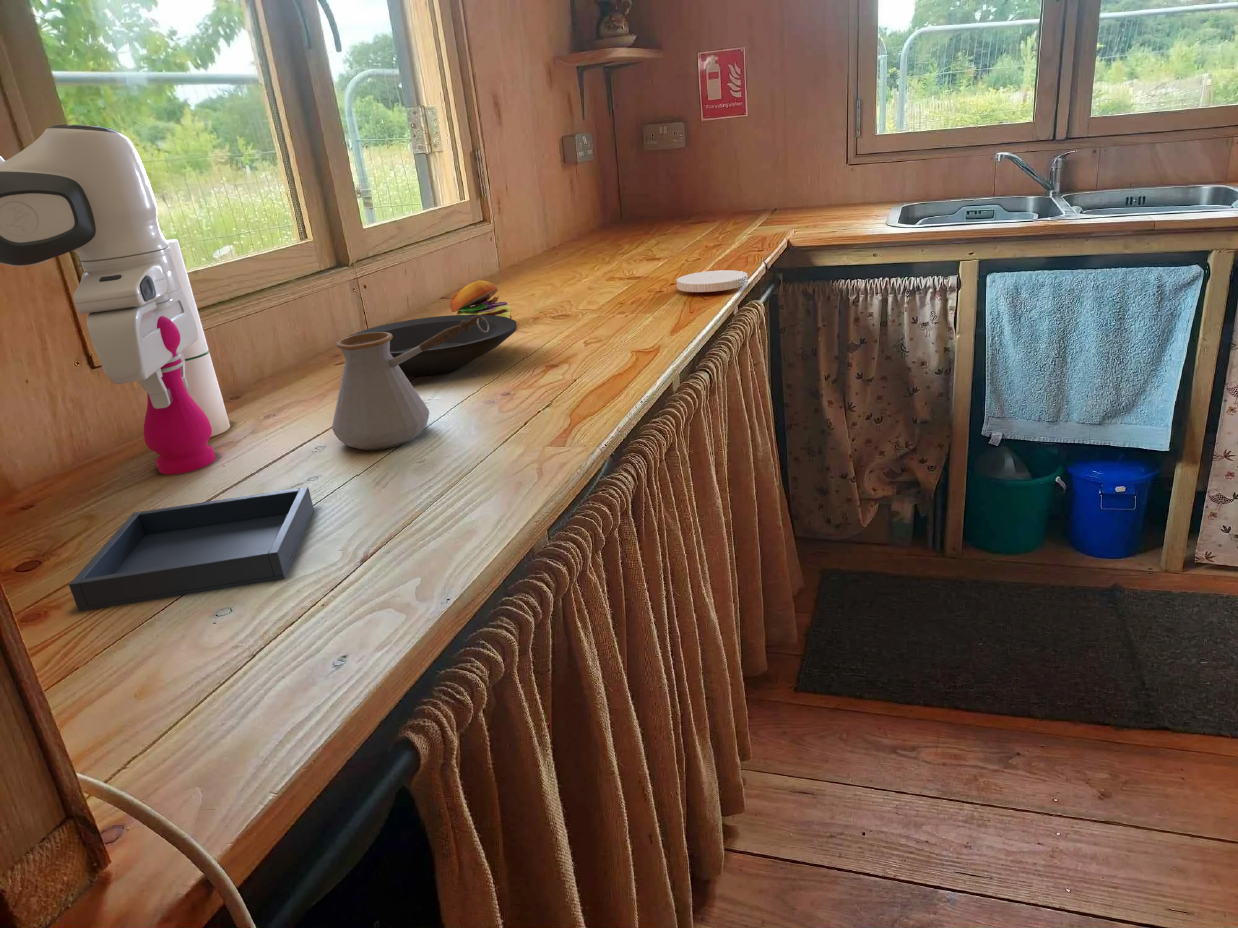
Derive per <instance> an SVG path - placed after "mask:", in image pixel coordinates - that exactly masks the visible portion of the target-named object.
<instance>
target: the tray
mask: <svg viewBox="0 0 1238 928" xmlns="http://www.w3.org/2000/svg"><path fill="white" fill-rule="evenodd" d="M314 511H315V508H314V504H313V500H312V497H311V492H310V488H309V486H304V487H298V488H290V489H284V490H277V491H270V492H263V493H257V494H249V495H243V496H237V497H229V498H223V499H216V500H210V501H203V502H197V503H190V504H182V505H176V506H170V507H163V508H162V507H161V508H155V509H149V510H142V511H135V512H132V513H131V514H130V516H129V517H128V518H127V519H126V520H125V521H124V522H123V524H122V525H120V527H119V528H117V530H116V531H115V533H113V535H112V536H111V537H110V538H109V539H108V540H107V541H106V542H105V543H104V544H103V546H102V547H101V548H100V549H99V550H98V551H97V552H96V553H95V555H94V556H93V557H92V558H91V559H90V561H88V563H86V564H85V565H84V567H83V568H82V569H81V570H80V571H79V573H77V574H76V576H75V577H74V578H73V579H72V580H71V581H70V582H69V584H68V587H69V589H70V592H71V594H72V597H73V600H74V602H75V605H76V608H77V610H78V612H85V611H92V610H99V609H105V608H111V607H118V606H124V605H129V604H130V605H131V604H136V603H142V602H149V601H154V600H161V599H168V598H174V597H179V596H188V595H193V594H194V595H195V594H199V593H205V592H211V591H217V590H224V589H225V590H226V589H230V588H231V589H232V588H236V587H245V586H250V585H257V584H263V583H270V582H276V581H282V580H285V579H286V578H287V575H288V573H289V570H290V568H291V566H292V563H293V561H294V558H295V556H296V554H297V551H298V549H299V547H300V544H301V542H302V540H303V537H304V535H305V533H306V530H307V528H308V526H309V523H310V521H311V518H312V516H313V513H314Z"/></svg>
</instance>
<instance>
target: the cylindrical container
mask: <svg viewBox="0 0 1238 928" xmlns="http://www.w3.org/2000/svg"><path fill="white" fill-rule="evenodd" d="M166 241H167V242H168V245H169V248H170V251H171V255H172V258H173V261H174V265H175V268H176V271H177V275H178V278H179V281H180V285H181V288H182V290H183V292H184V294H185V296H186V298H187V301H188V304H189V307H190V309H191V312H192V315H193V318H194V321H195V324H196V327H197V333H198V339H197V341H195V342H194V343H193V344H191V345H190V346H189V347H187V348H186V349H185V350H183V351H182V352H183V355H184V358H185V377H186V380H187V384H188V389H187V392H188V393H189V395H190V396H191V398H192V399H193V400H194V401H195V402H196V404H197V405H198V406H199V407H200V408H201V409H202V410H203V412H204V413H205V415H206V416H207V418H208V419H209V422H210V424H211V427H212V434H211V437H210V438H213V437H215V436H218V435H221V434H223V433H225V432H226V431H228V430H229V429H230V428H231V423H230V421H229V417H228V413H227V410H226V406H225V403H224V399H223V395H222V391H221V389H220V385H219V382H218V378H217V375H216V371H215V367H214V364H213V360H212V357H211V354H210V350H209V346H208V343H207V339H206V334H205V330H204V328H203V325H202V320H201V317H200V313H199V310H198V306H197V303H196V300H195V296H194V293H193V289H192V285H191V282H190V279H189V275H188V270H187V267H186V263H185V261H184V257H183V252H182V250H181V247H180V243H179V239H166Z"/></svg>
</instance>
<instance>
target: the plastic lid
mask: <svg viewBox="0 0 1238 928" xmlns="http://www.w3.org/2000/svg"><path fill="white" fill-rule="evenodd" d="M675 281H676V289H677V290H679V291H682V292H687V293H710V292H711V293H712V292H721V291H722V292H723V291H727V290H728V291H729V290H733V289H737V288H740V287H743V286H745V285H747V284H748V273H747V272H745V271H742V270H733V269H731V270H730V269H728V270H727V269H726V270H724V269H721V270H720V269H719V270H708V271H707V270H706V271H699V272H693V273H689V274H685V275H682V276H680V277H677V278H676V280H675Z"/></svg>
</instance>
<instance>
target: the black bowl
mask: <svg viewBox="0 0 1238 928" xmlns="http://www.w3.org/2000/svg"><path fill="white" fill-rule="evenodd" d="M474 316H478V315H457V314H451V315H450V314H449V315H440V316H430V317H428V316H427V317H420V318H414V319H413V318H412V319H407V320H402V321H401V320H400V321H395V322H389V323H386V324H382V325H378V326H375V327H374V326H373V327H371V328H367V329H363V330H361V331H357V332H355V333H352V334H350V335H348V336H347V337H350V336H354V335H359V334H365V333H373V332H387V333H391V334H392V336H393V337H392V339H391V340H390V354H391V355H392V357H393V358H395V357H397V356H399V355H401V354H403V353H405V352H407V351H409V350H411V349H413V348H415V347H417V346H419V345H420V344H422V343H423V342H425V341H427V340H428V339H430V338H432V337H433V336H435V335H437V334H438V333H440V332H442V331H443V330H445V329H447V328H451V327H453V326H456V325H460V322H461V321H462V320H464V321H468V320H470V318H471V317H474ZM481 316H482V317H483V318H485V319H486V321H487V322H488V324H489V330H488V332H482V331H481V330H480V329H479V328H478V325H477V324H476V325H472V326H470V327H469V329H468V331H464V330H463V331H461V332H460V333H459V334H457V335H456V336H455V337H453V338H452V339H450V340H448V341H446V342H444V343H441V344H439V345H437V346H435V347H432V348H430V349H428V350H426V351H422V352H420V353H419V354H417V355H415V356H413V357H411V358H410V359H408V360H406V361H404V362H402V363H401V364H399V367H400V368H401V370H402V371H403V373H404V374H405V376H410V377H429V376H438V375H443V374H447V373H451V372H455V371H458V370H460V369H462V368H464V367H465V366H467V365H469V364H471V363H472V362H474V361H476V360H478V359H480V358H481V357H483V356H485V355H486V354H488V353H490V352H491V351H493V350H495V349H496V348H497V347H498V346H500V345H501V344H502V343H504V342H505V341H506V340H507V339H508V338H510V337H511V336H512V335H513V334H515V333H516V332H517V330H518V326H517V321H516V320H515V319H513V318H512V319H510V318H507V317H503V316H496V315H481ZM478 323H479V326H480V327H481V329H482V330H484V331H487V324H486V322H485V321H484V319H482V320H481V321H480V322H478ZM347 337H345V338H347Z"/></svg>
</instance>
